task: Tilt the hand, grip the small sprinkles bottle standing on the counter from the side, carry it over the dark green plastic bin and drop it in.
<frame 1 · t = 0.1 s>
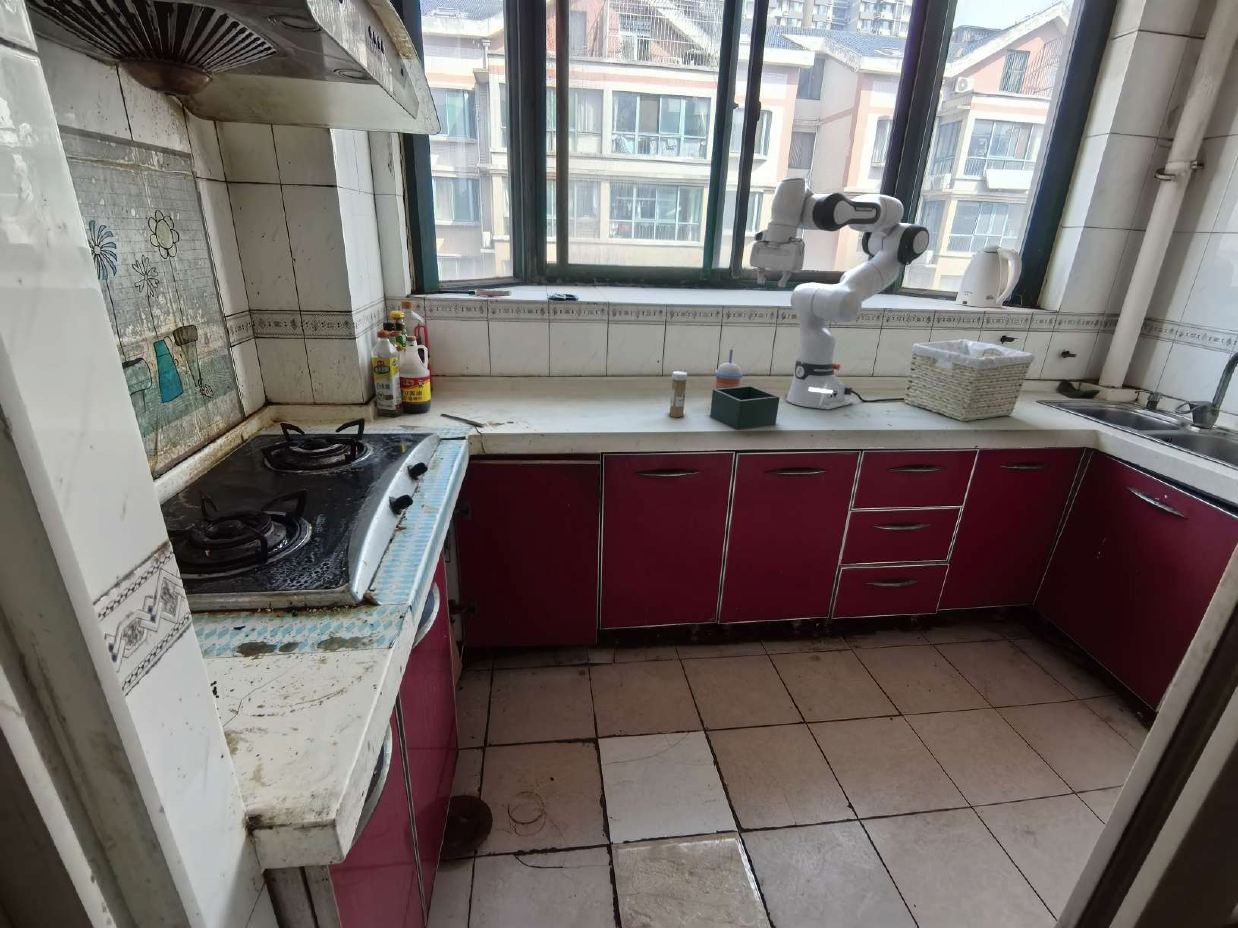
hand: (770, 285, 179), 39 cm above the countertop, tool pointing down, fingers open, 8 cm apart
sprinkles bottle: (676, 415, 183), on the countertop
basket: (955, 410, 203), on the countertop
bin: (742, 420, 181), on the countertop
cup with straw: (725, 404, 198), on the countertop
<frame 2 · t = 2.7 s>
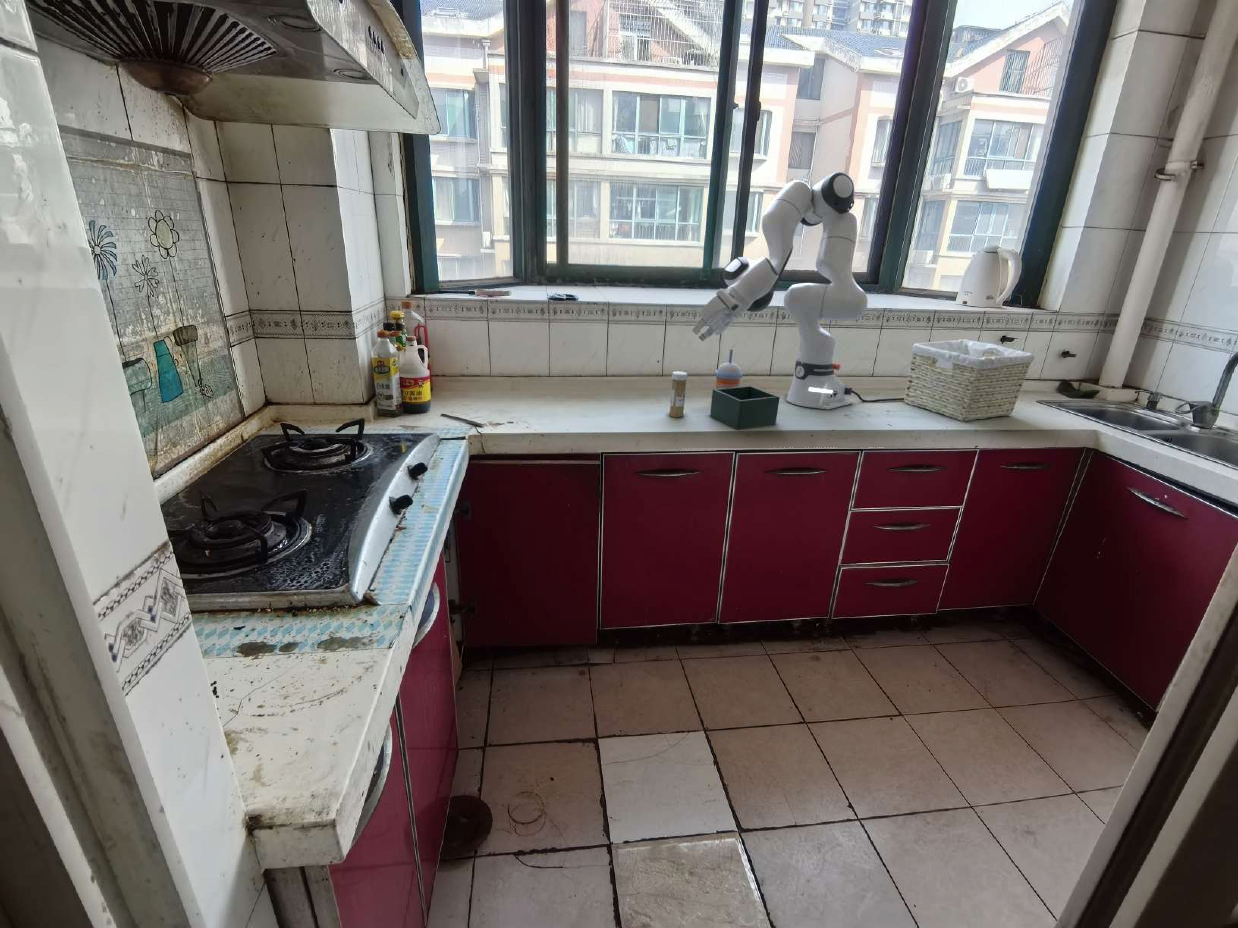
hand: (697, 336, 182), 23 cm above the countertop, tool tilted 45°, fingers open, 8 cm apart
nothing on the countertop moved.
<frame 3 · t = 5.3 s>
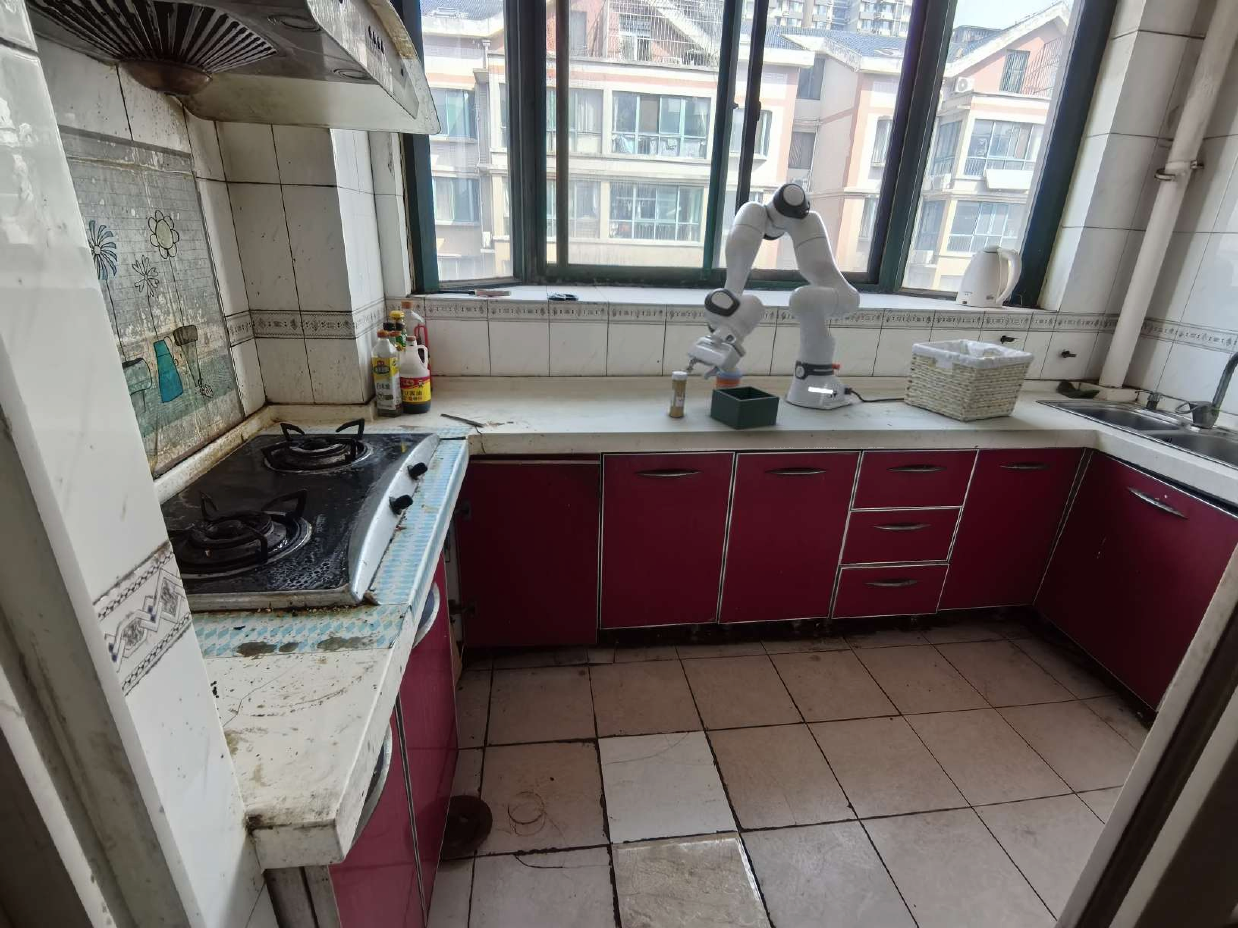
hand: (695, 374, 181), 12 cm above the countertop, tool tilted 45°, fingers open, 8 cm apart
nothing on the countertop moved.
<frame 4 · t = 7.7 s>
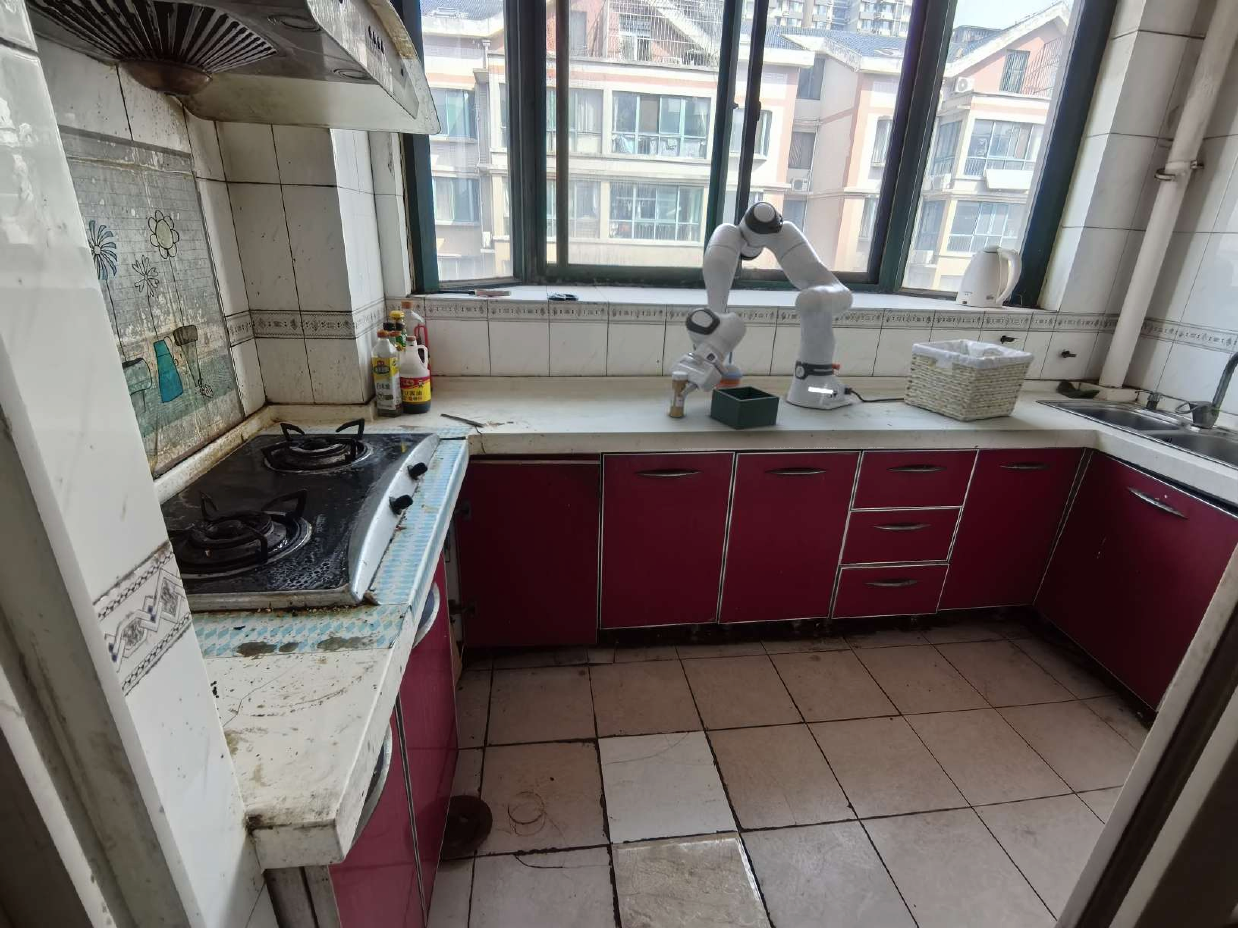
hand: (676, 393, 180), 7 cm above the countertop, tool tilted 45°, fingers closed on sprinkles bottle, 4 cm apart
sprinkles bottle: (676, 415, 183), on the countertop, touching gripper
everything else where it was.
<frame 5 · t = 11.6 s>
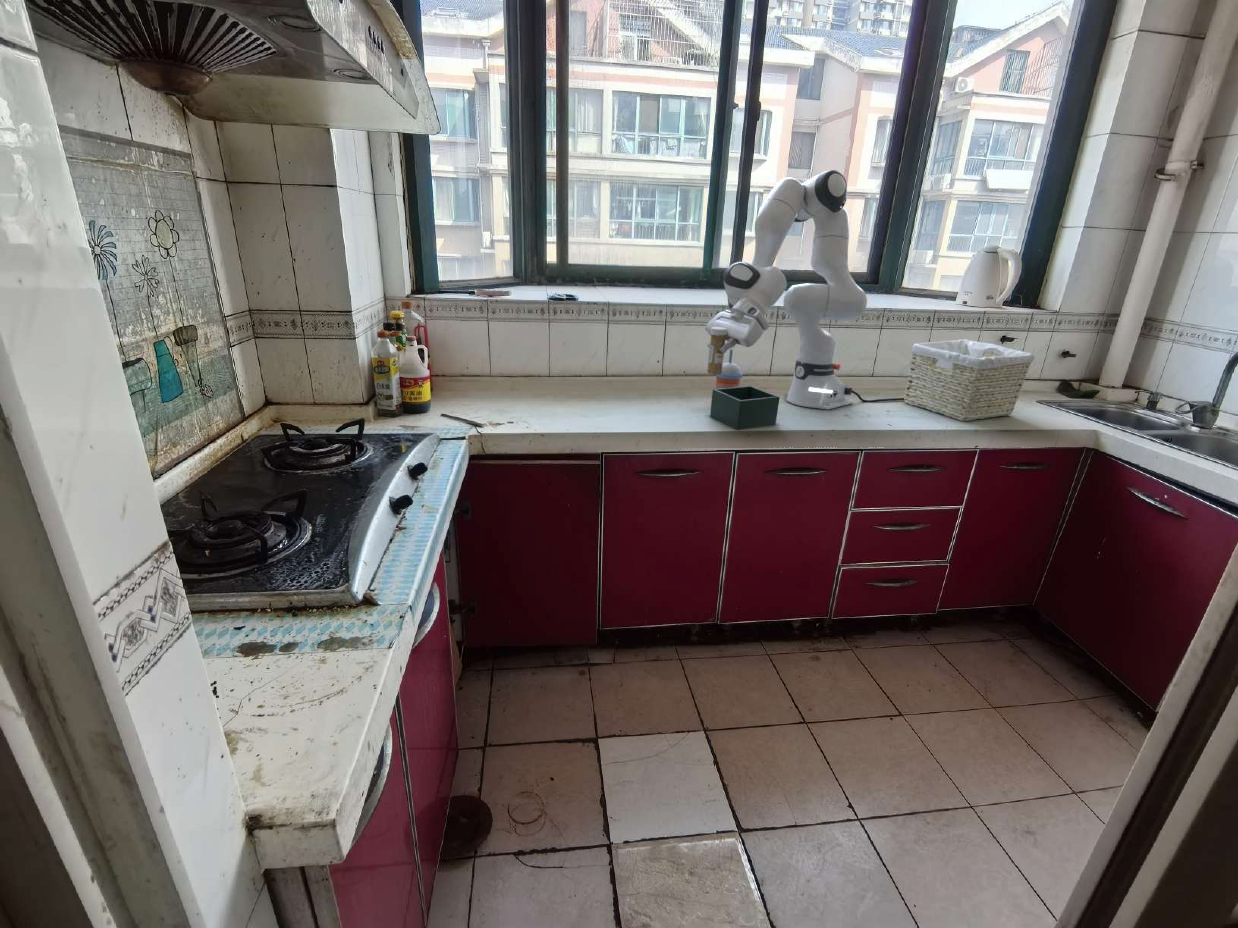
hand: (715, 349, 174), 21 cm above the countertop, tool tilted 45°, fingers closed on sprinkles bottle, 4 cm apart
sprinkles bottle: (714, 373, 177), point 14 cm above the countertop, touching gripper
everything else where it was.
when the fingers open (14 cm above the countertop, at t = 15.4 s): sprinkles bottle drops 7 cm, resting on bin.
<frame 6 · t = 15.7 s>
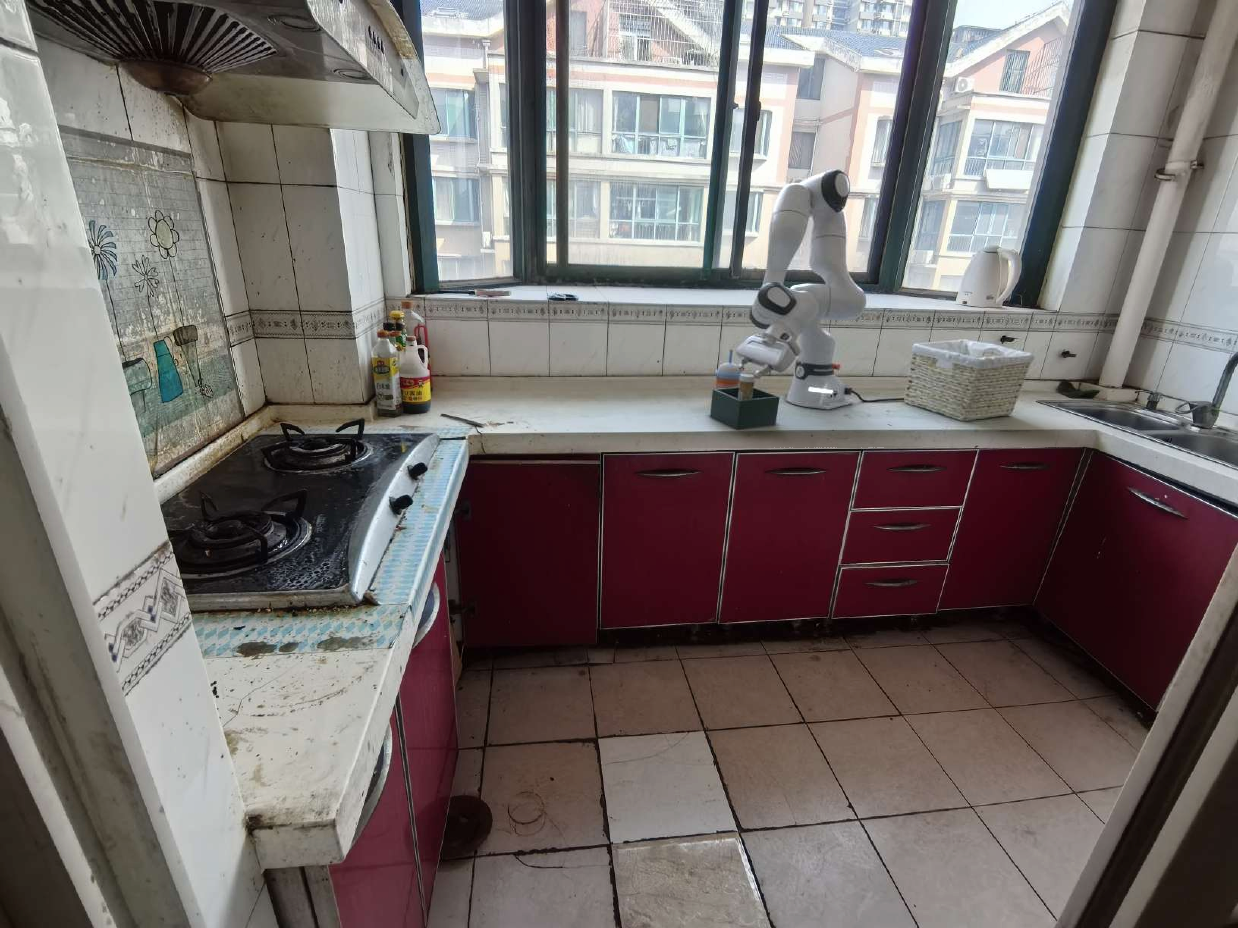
hand: (746, 374, 175), 14 cm above the countertop, tool tilted 45°, fingers open, 7 cm apart
sprinkles bottle: (742, 418, 181), resting on bin
everything else where it was.
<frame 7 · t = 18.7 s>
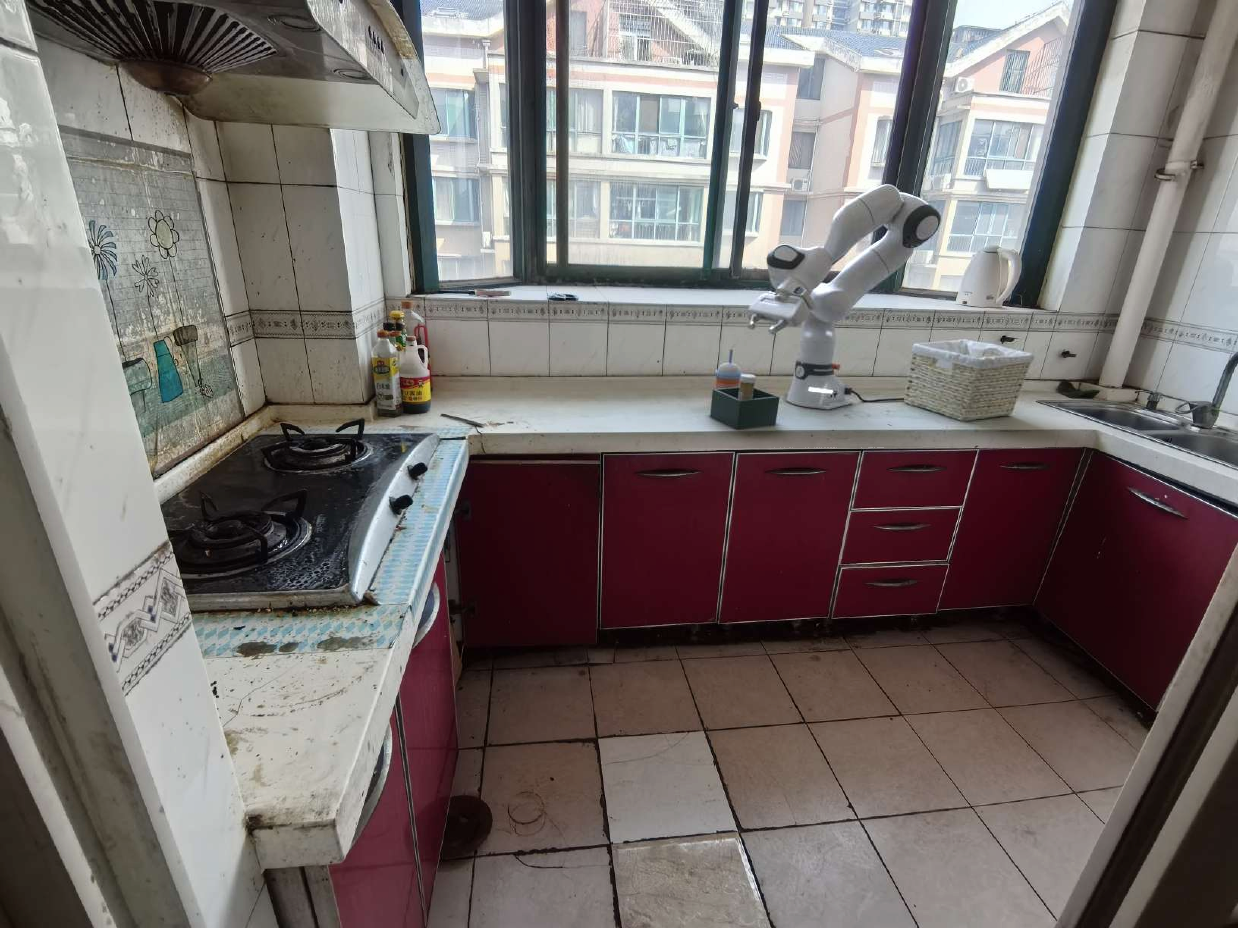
hand: (760, 330, 172), 27 cm above the countertop, tool tilted 45°, fingers open, 8 cm apart
nothing on the countertop moved.
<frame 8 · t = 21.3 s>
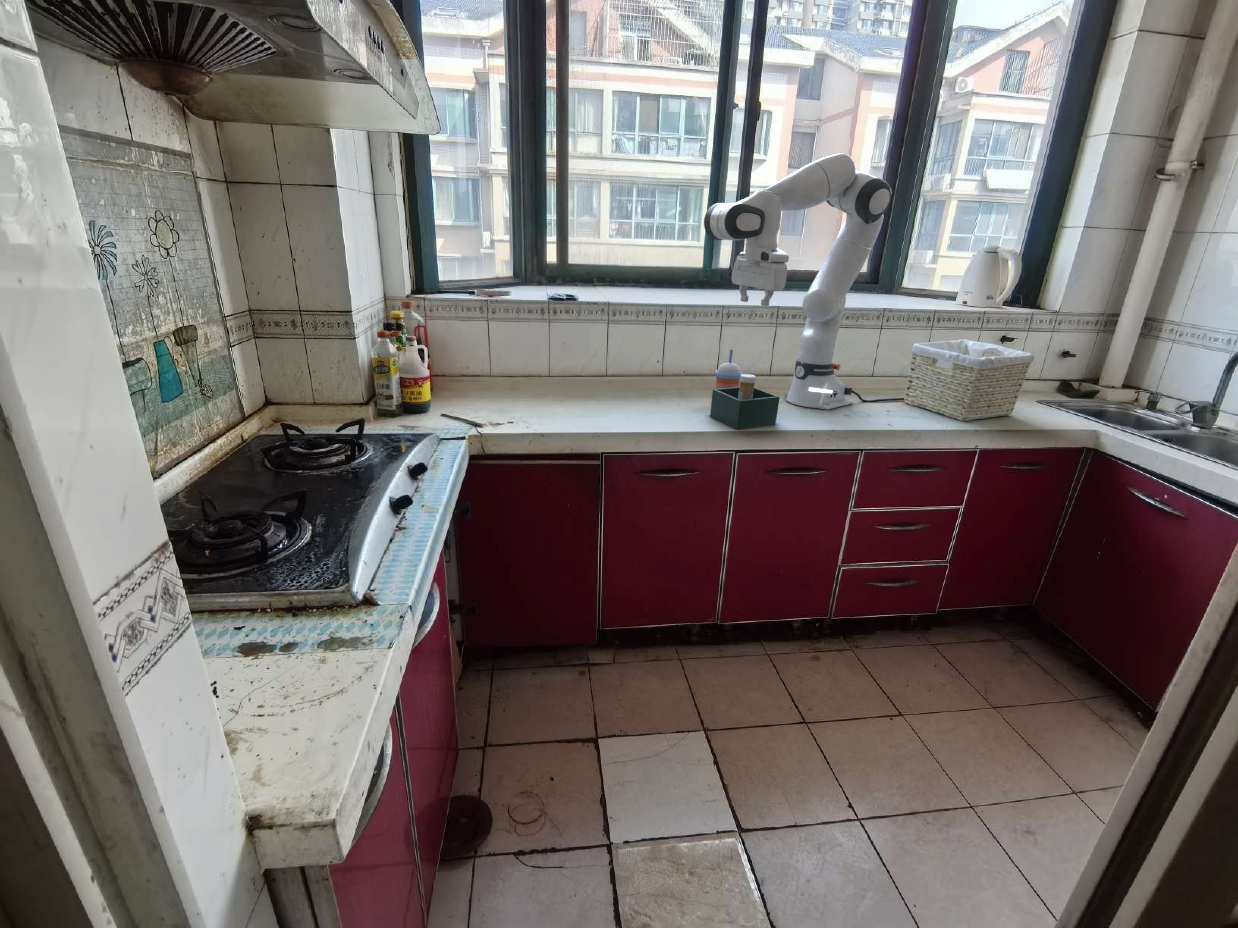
hand: (754, 303, 174), 34 cm above the countertop, tool pointing down, fingers open, 8 cm apart
nothing on the countertop moved.
at the end: sprinkles bottle inside the target area in the bin (0.1 cm from its centre), point 0.4 cm above the bin's base; the gripper is holding nothing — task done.
